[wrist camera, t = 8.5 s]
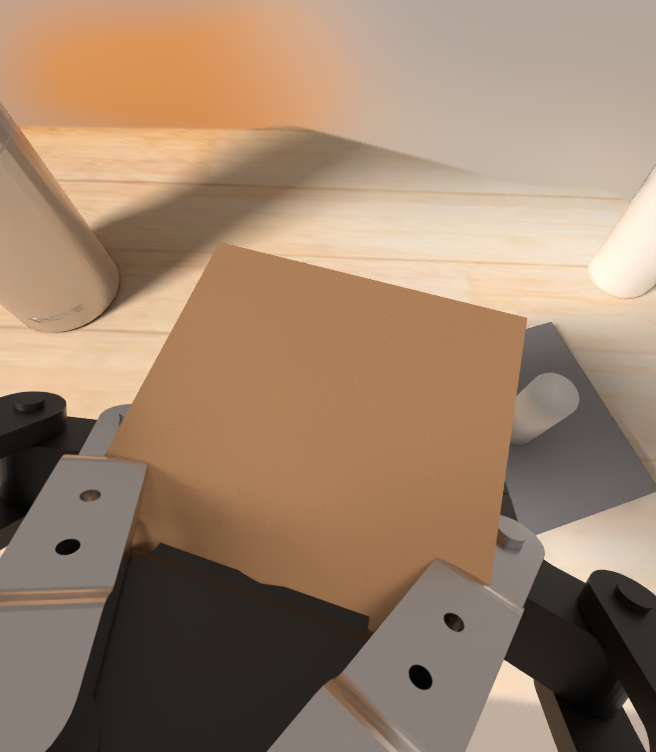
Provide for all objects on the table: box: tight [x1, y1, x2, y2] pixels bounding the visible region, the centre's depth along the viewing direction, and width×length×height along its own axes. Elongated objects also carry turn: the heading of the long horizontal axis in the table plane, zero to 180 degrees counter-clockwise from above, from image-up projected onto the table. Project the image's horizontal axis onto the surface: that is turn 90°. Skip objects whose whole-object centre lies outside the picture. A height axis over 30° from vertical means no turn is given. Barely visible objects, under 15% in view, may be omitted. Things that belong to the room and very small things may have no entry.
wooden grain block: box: [104, 242, 527, 633], centre depth 11 cm, size 6×6×10 cm
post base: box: [505, 322, 656, 535], centre depth 28 cm, size 14×14×8 cm
